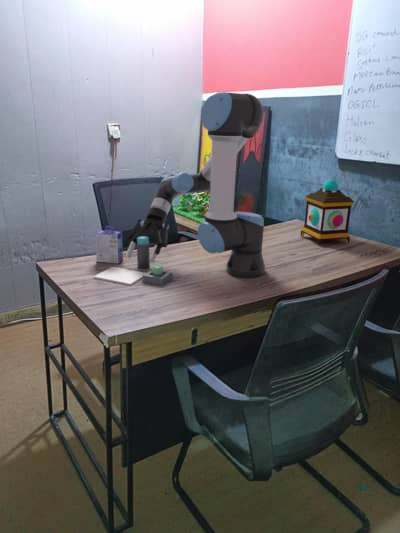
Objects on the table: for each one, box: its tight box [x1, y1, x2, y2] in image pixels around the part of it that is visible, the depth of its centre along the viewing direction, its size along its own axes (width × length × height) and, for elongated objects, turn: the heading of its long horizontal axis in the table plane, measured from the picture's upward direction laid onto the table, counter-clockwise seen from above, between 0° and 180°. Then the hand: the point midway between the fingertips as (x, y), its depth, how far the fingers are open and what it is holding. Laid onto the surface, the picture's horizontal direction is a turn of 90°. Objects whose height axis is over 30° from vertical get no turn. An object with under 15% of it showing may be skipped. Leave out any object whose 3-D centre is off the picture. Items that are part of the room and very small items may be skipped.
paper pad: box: [93, 266, 147, 286], centre depth 162 cm, size 16×12×1 cm
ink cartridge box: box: [94, 225, 124, 264], centre depth 176 cm, size 10×6×14 cm, turn 78°
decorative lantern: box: [300, 178, 355, 247], centre depth 210 cm, size 20×20×30 cm
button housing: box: [142, 269, 173, 286], centre depth 159 cm, size 8×8×2 cm
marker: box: [136, 235, 151, 270], centre depth 171 cm, size 5×5×12 cm
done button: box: [151, 264, 164, 277], centre depth 158 cm, size 4×4×3 cm
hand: (139, 258), depth 169 cm, fingers open, 10 cm apart
